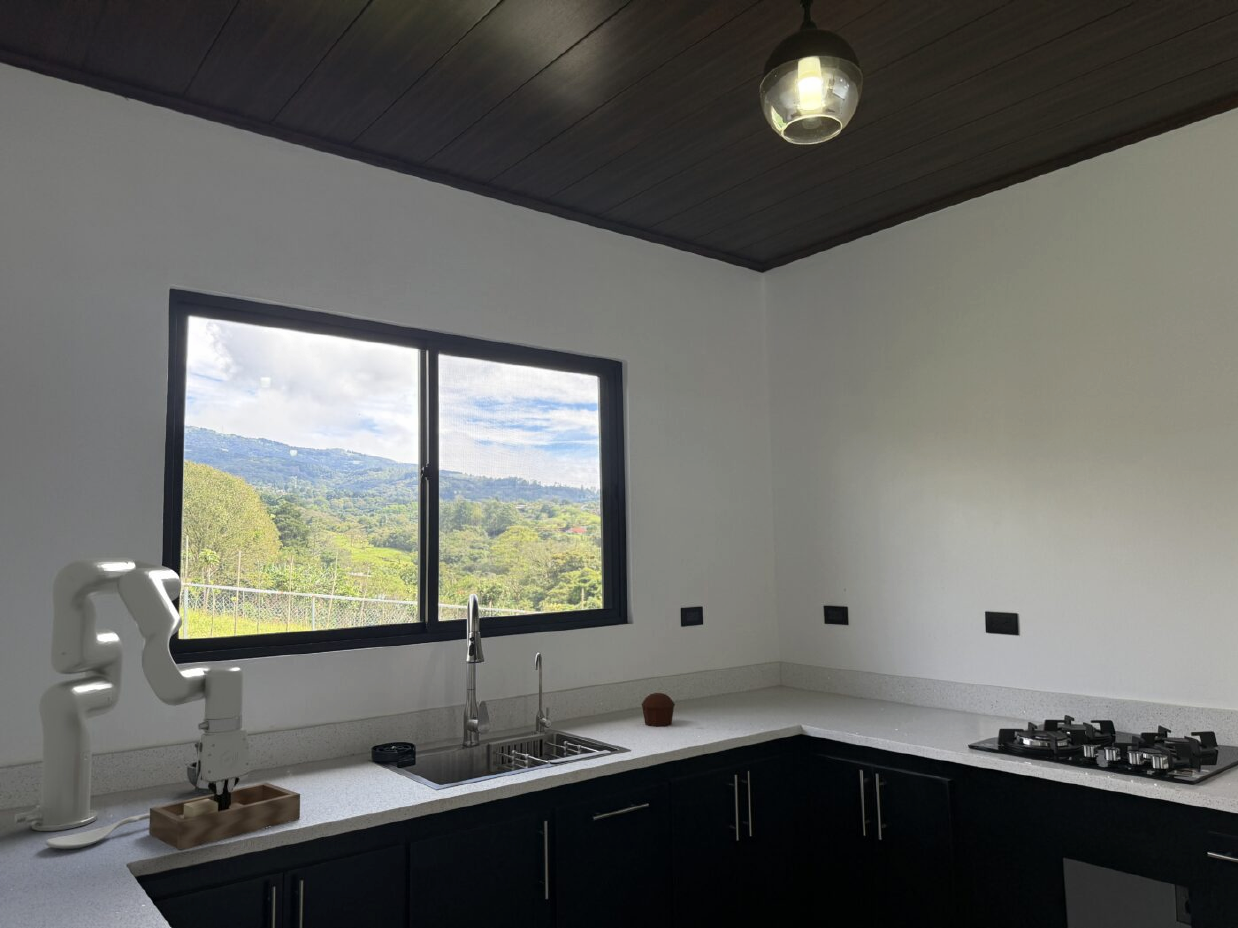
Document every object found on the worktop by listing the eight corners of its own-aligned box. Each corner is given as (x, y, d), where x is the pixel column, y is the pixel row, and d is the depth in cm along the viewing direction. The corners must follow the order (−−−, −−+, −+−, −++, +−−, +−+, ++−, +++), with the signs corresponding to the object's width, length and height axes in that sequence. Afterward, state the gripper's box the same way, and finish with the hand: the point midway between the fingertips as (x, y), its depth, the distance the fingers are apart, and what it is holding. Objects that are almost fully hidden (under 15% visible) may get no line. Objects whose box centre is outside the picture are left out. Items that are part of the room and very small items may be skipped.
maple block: (193, 827, 184) (193, 808, 184) (183, 823, 187) (183, 803, 187) (217, 821, 187) (217, 802, 188) (207, 817, 191) (207, 798, 191)
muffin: (639, 721, 300) (639, 691, 301) (671, 720, 301) (671, 690, 302) (644, 728, 288) (644, 697, 289) (678, 727, 290) (677, 696, 291)
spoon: (212, 818, 201) (213, 802, 201) (55, 859, 176) (56, 841, 176) (193, 811, 206) (193, 796, 207) (38, 850, 181) (39, 833, 182)
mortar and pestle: (235, 790, 223) (236, 742, 224) (197, 799, 216) (198, 748, 217) (215, 783, 230) (216, 736, 231) (178, 791, 223) (179, 742, 224)
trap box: (180, 850, 179) (180, 822, 179) (149, 834, 189) (149, 807, 190) (299, 818, 198) (300, 793, 199) (265, 805, 209) (266, 782, 209)
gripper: (196, 732, 184) (194, 823, 183) (264, 720, 196) (263, 806, 194) (180, 728, 189) (179, 816, 188) (248, 717, 201) (247, 800, 199)
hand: (222, 811), depth 191 cm, fingers closed
